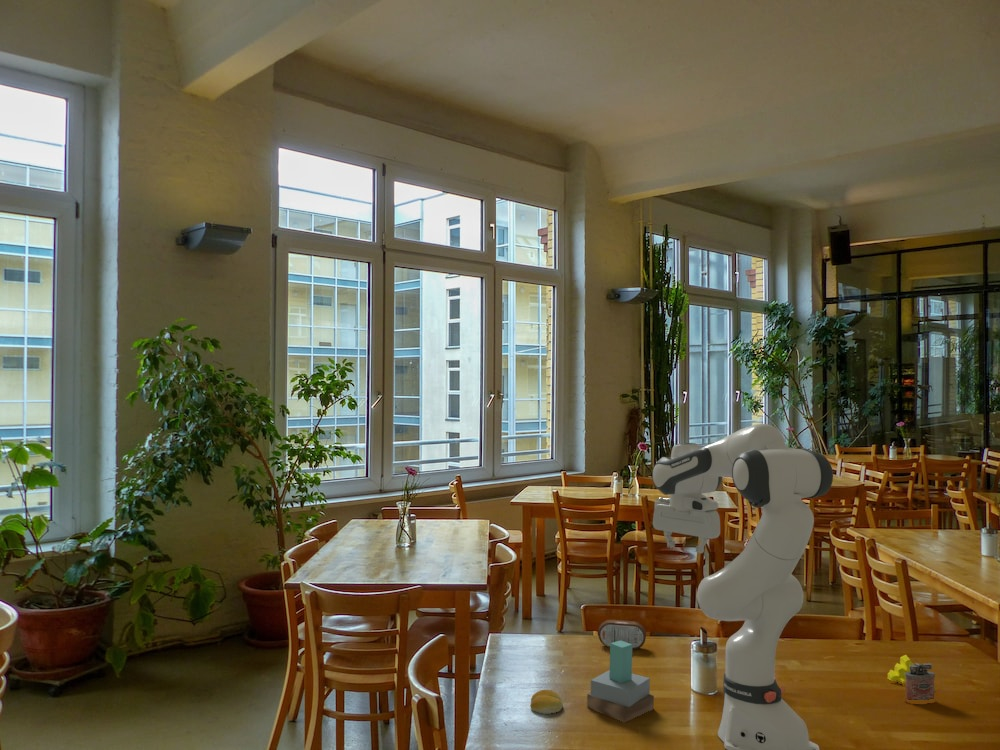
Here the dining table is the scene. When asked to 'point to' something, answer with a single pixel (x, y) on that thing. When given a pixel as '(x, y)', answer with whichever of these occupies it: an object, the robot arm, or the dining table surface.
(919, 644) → the dining table surface
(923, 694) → the lighter
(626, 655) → the pillar block
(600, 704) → the tower base
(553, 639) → the dining table surface
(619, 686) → the tower top
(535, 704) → the bread roll
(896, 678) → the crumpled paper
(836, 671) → the dining table surface
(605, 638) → the tin
